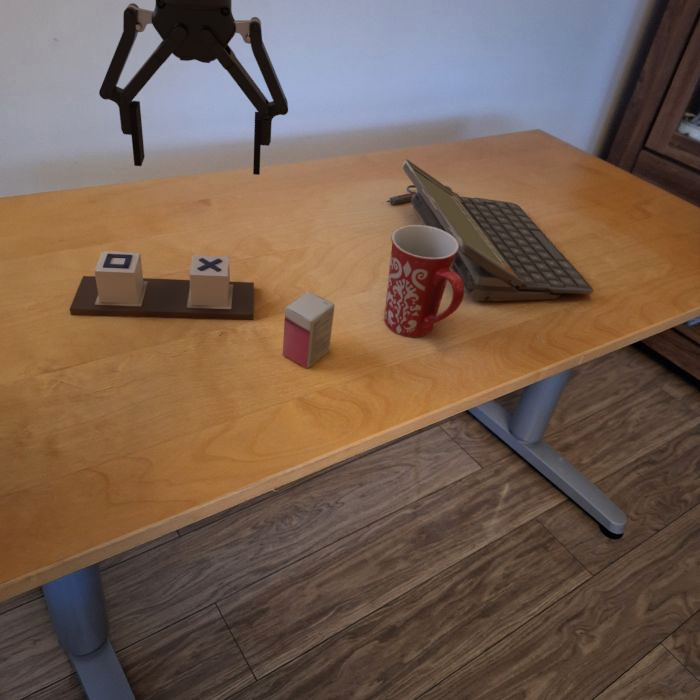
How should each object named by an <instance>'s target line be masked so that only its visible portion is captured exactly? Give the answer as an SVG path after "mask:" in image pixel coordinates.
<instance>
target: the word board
mask: <svg viewBox="0 0 700 700" xmlns="http://www.w3.org/2000/svg"><path fill="white" fill-rule="evenodd" d="M143 282H144V284H143V288H142V291H141V295H140V299H139V302H138V304H134V303H103V302H100V301H99V295H98V289H97V283H96V278H95V275H83V276H82V277H81V280H80V282H79V285H78V287H77V290H76V292H75V295H74V297H73V300H72V302H71V305H70V307H69V313H70V315H73V316H74V315H75V316H109V317H137V318H138V317H139V318H140V317H142V318H143V317H145V318H173V319H175V318H177V319H180V318H181V319H210V320H241V321H242V320H243V321H253V320H254V302H255V301H254V300H255V298H254V297H255V296H254V295H255V293H254V292H255V283H254V282H253V281H252V282H251V281H230V288H229V301H228V306H202V305H191V294H190V279H173V278H149V277H147V278H145V277H143Z"/></svg>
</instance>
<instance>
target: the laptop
mask: <svg viewBox="0 0 700 700" xmlns="http://www.w3.org/2000/svg"><path fill="white" fill-rule="evenodd" d="M401 167H402V169H403V171H404V173H405V174H406V176H407V178H408V179H409V180H410V182H411V183H412V185H414V186H415V187H416V188H415V190H416V191H415V192H416V193H415V194H414V195H413V197H412V200H411V204H412V209H413V210H414V212H415V214H416V215H417V217H418V218H419V220H420V222H421V223H422V225H425V226H431V227H435V228H438V229H441V230H443V231H445V232H447V233H449V234H450V235H452V236H453V237H454V238H455V239H456V240H457V242H458V244H459V249H458V251H457V253H456V254H455V257H454V261H453V264H452V267H451V271H454V272H456V273H457V274H458V275H459V276H460V277H461V279H462V281H463V284H464V293H465V294H466V295H467V296H468V298H470V299H472V300H474V301H487V302H488V301H489V302H502V301H503V302H504V301H505V302H506V301H532V300H534V301H536V300H553V299H557V298H559V297H560V296H561V294H578V295H579V294H582V295H583V294H584V295H592V294H593V293H594V289H593V287H592V286H591V285H590V284H589V282H588V281H587V280H586V278H584V276H583V275H582V273H580V271H578V270H577V268H576V267H575V266H574V265H573V264H572V263H571V262H570V261H569V260H568V259H567V257H566V256H565V255H563V253H562V252H561V251H560V250H559V248H557V246H555V244H554V243H553V242H552V241H551V240H550V239H549V238H548V237H547V236H546V234H545V233H544V232H543V231H542V230H541V228H540V227H539V226H538V225H537V224H536V223H535V222H534V221H533V219H532V218H531V217H530V216H529V215H528V214H527V213H526V212H525V210H524V209H523V208H522V207H521V206H520V205H519V204H517V203H515V202H510V201H503V200H497V199H490V198H481V197H468V196H460V195H459V194H458V193H456V192H454V191H453V190H452V191H451V190H450V189H448V188H447V187H446V186H447V185H445V184H444V183H442V182H441V181H439V180H438V179H436V178H435V177H433V176H432V175H430V174H429V173H427V172H426V171H425V170H424V169H422V168H421V167H419V166H418V165H416V164H415V163H413V162H412V161H410V160H409V159H405V160H404V162H403V164H402V165H401Z"/></svg>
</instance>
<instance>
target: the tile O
mask: <svg viewBox="0 0 700 700" xmlns="http://www.w3.org/2000/svg"><path fill="white" fill-rule="evenodd" d="M142 265H143V264H142V256H141V252H127V251H125V252H124V251H105V250H104V251H101V253H100V256H99V258H98V261H97V264H96V266H95V268H94V270H93V271H94V276H95V278H96V283H97V289H98V295H99V301H100V302H103V303H134V304H138V302H139V299H140V295H141V291H142V288H143V284H144V282H143V278H144V274H143V273H144V272H143V266H142Z"/></svg>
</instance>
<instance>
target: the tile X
mask: <svg viewBox="0 0 700 700" xmlns="http://www.w3.org/2000/svg"><path fill="white" fill-rule="evenodd" d="M230 271H231V270H230V256H221V255H220V256H219V255H196V254H193V255H192V258H191V264H190V269H189V273H188V274H189V280H190V294H191V305H202V306H228V301H229V288H230V282H231V281H230V278H231V277H230Z"/></svg>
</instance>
